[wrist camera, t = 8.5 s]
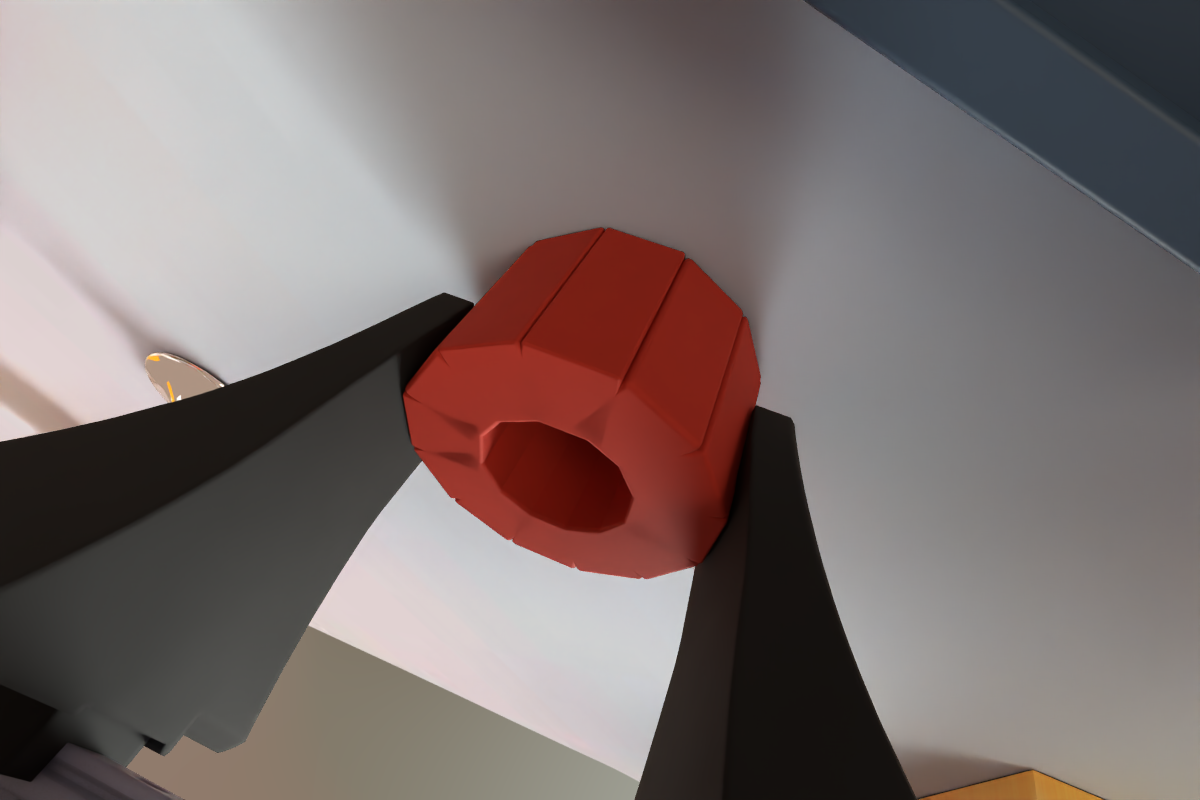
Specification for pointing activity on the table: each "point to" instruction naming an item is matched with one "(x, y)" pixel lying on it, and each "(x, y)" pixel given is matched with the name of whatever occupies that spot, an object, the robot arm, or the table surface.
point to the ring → (593, 405)
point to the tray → (1067, 91)
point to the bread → (1017, 789)
